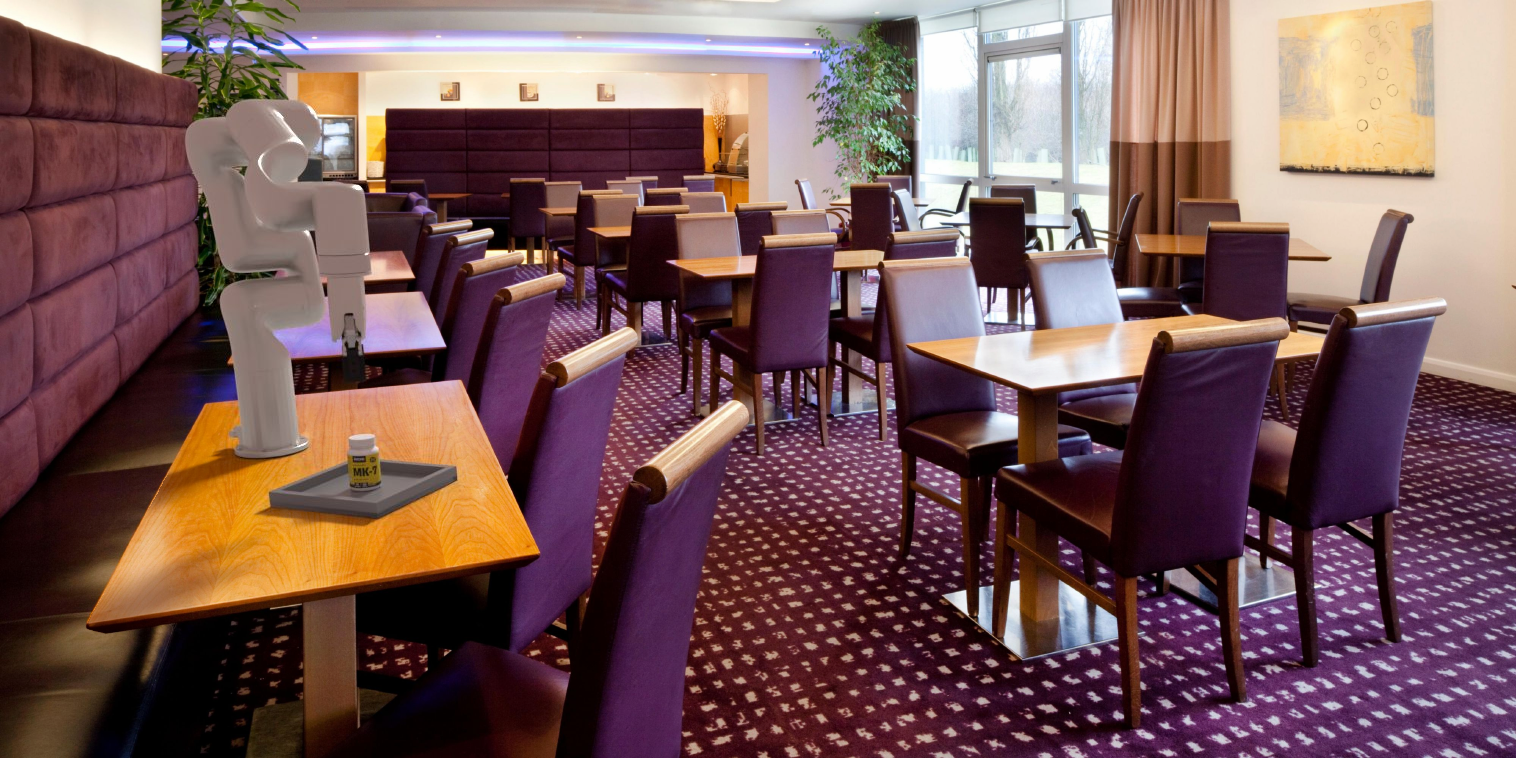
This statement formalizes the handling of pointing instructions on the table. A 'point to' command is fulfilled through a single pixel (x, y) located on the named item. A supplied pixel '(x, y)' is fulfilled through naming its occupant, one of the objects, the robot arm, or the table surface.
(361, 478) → the supplement bottle
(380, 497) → the serving tray
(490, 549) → the table surface
